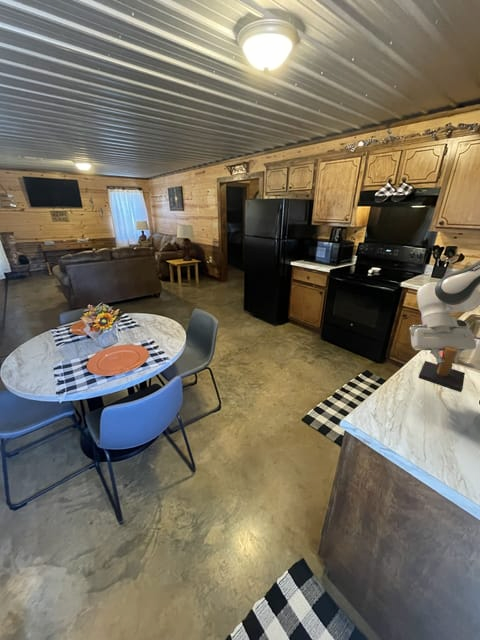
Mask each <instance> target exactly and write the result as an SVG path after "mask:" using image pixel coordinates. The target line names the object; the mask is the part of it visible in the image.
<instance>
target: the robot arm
mask: <svg viewBox="0 0 480 640" xmlns="http://www.w3.org/2000/svg"><path fill="white" fill-rule="evenodd" d="M479 286H480V260H478V261H476V262H475V263H473V264H471V265H469V266H468V267H466V268H463V269H461V270H458V271H454V272H452V273H449V274H447V275H444V276H443V277H442V278H440V279H439V280H438V282H436V281H432V282H428V283H425V284H423V285H421V286H420V287H419V288H418V289H417V291H416V301H417V307H418V310H419V312H420V314H421V317H420V319H421V323H422V324H412V325H411V326H410V327H409V333H410V343H411V348H412V349H413V350H414V351H430V354H431V355H432V356H433V357H434V358H435V360H436V364H437V363H443V362H445V360H444V357H441V356H440V351H444V350H445V348H446V347H453V348H455V349H457V353H456V355H455V358H454V361H453V363H452V364H458V363H459V358H458V357H459V355H460V352H470V351H474V350H476V349H477V341H476V337H475V336H474V333H473V331H472V330H471V329H469V328H470V323H469V322H468V321H466V320H462V319H460V318H459V319H458V318H456V317H453V316H452V314H461V313H468V312H469V313H470V312H472V311H473V310H476V309H477V308H479V306H480V291H479V289H478V288H479Z"/></svg>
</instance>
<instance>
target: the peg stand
mask: <svg viewBox="0 0 480 640" xmlns="http://www.w3.org/2000/svg"><path fill="white" fill-rule="evenodd" d="M456 353H457V349H455V348H453V347H446V348H445V350H444V353H443V356H442V357H444V360H445V362H443V363H437V362H436V363H433V362H430V361H427V360H424V362H423V365H422V368H421V370H420V372H419V375H418V379H420V380H423V381H427V382H429V383H431V384H435V385H438V386H441V387H444V388H446V389H450V390H452V391H456V392H458V393H462V391H463V389H464V382H465V377H466V376H465V375H466V372H464V371H460V370H457V369H455V368H453V364H454V363H453V361H454V358H455V355H456Z"/></svg>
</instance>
